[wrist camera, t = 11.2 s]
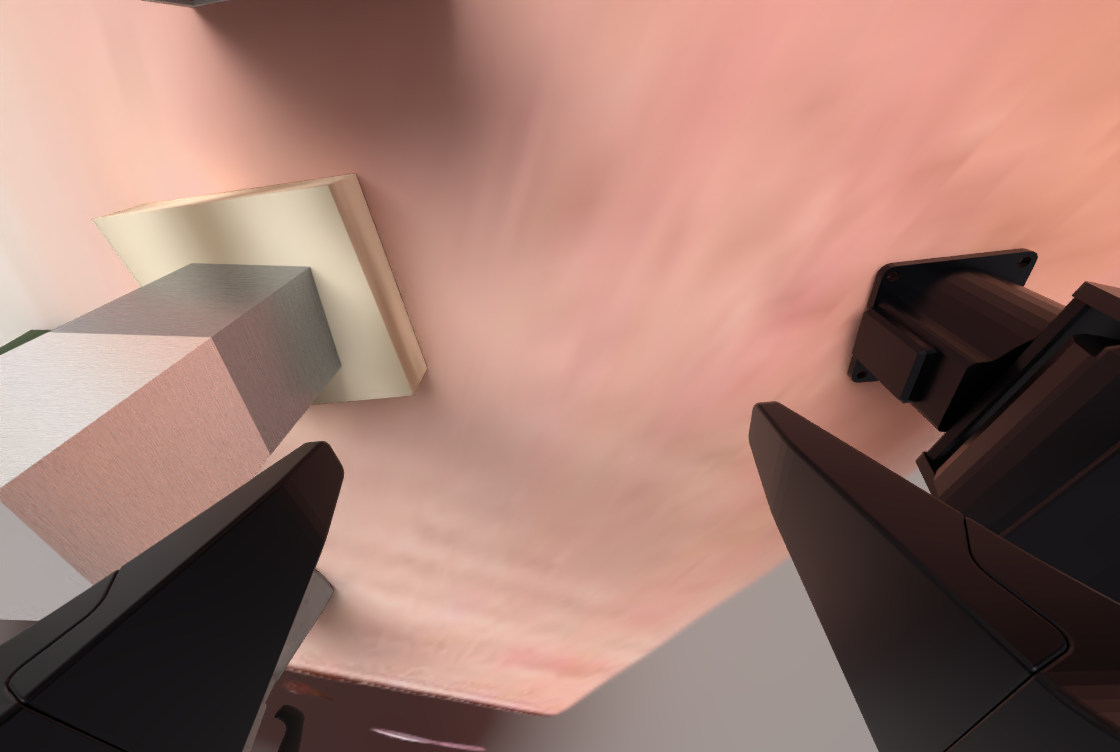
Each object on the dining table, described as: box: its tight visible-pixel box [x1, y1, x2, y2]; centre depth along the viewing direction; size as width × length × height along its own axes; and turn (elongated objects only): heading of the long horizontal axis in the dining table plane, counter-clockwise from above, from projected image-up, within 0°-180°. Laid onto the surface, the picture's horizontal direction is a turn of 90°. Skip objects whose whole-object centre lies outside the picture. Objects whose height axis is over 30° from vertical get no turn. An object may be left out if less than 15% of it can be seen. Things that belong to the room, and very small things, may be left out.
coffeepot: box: [243, 570, 333, 752], centre depth 30 cm, size 15×9×18 cm, turn 37°
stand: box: [92, 173, 427, 405], centre depth 20 cm, size 10×10×2 cm
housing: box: [0, 263, 342, 621], centre depth 14 cm, size 5×5×12 cm
